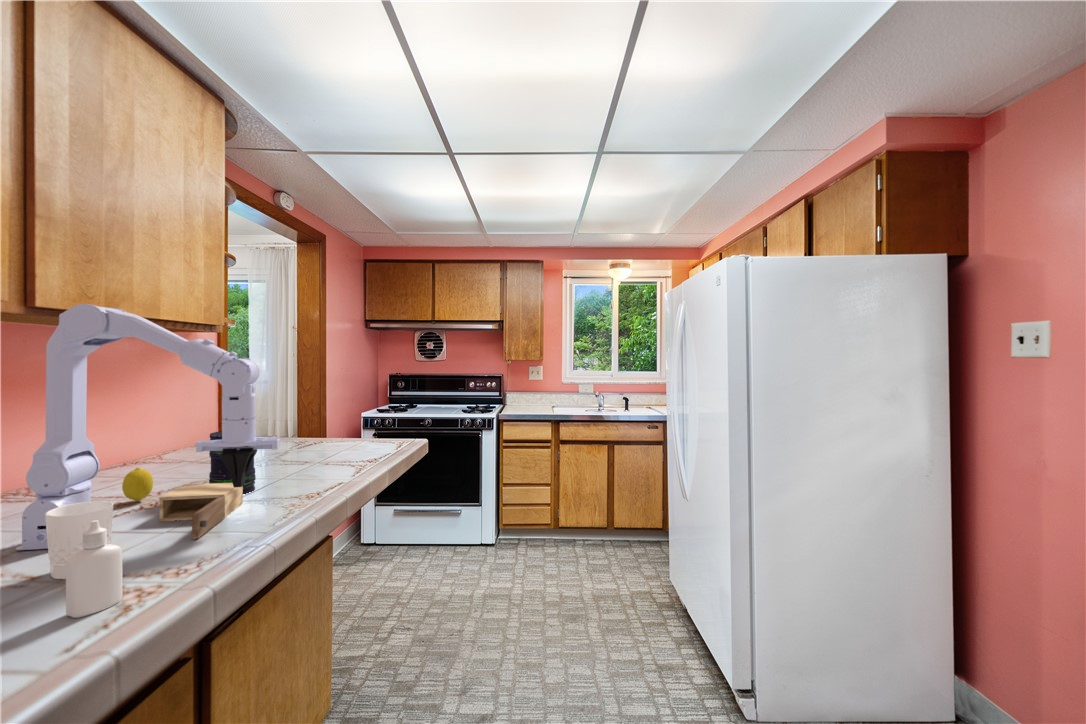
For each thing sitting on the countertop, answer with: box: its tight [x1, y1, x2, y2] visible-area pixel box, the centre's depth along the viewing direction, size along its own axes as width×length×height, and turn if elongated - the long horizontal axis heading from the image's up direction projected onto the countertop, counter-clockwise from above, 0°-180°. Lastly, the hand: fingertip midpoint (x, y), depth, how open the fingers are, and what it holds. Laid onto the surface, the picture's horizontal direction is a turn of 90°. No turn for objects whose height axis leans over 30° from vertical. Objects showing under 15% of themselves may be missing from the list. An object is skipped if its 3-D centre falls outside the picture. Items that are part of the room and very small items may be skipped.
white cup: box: [45, 500, 114, 580], centre depth 78 cm, size 8×8×10 cm
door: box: [191, 496, 226, 540], centre depth 97 cm, size 2×12×5 cm, turn 13°
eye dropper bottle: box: [65, 520, 123, 619], centre depth 66 cm, size 4×6×12 cm
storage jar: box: [208, 430, 256, 495], centre depth 122 cm, size 10×10×15 cm
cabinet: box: [158, 483, 244, 522], centre depth 106 cm, size 10×12×5 cm
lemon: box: [121, 467, 154, 503], centre depth 113 cm, size 6×6×8 cm
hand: (239, 486), depth 98 cm, fingers closed
